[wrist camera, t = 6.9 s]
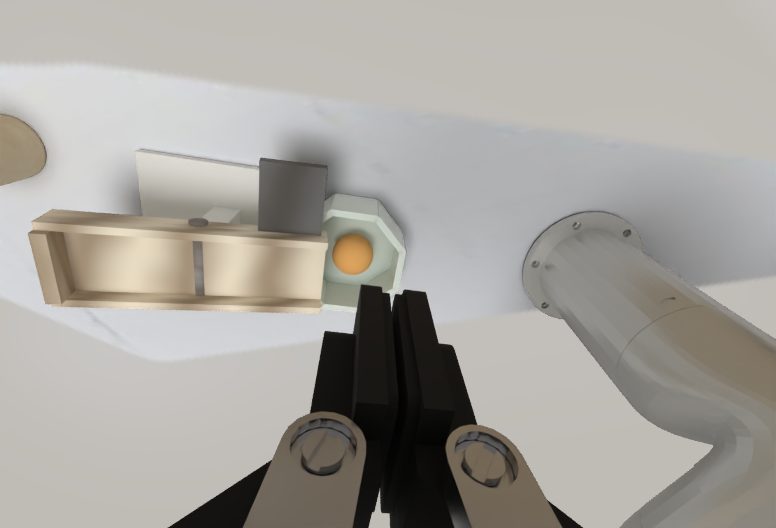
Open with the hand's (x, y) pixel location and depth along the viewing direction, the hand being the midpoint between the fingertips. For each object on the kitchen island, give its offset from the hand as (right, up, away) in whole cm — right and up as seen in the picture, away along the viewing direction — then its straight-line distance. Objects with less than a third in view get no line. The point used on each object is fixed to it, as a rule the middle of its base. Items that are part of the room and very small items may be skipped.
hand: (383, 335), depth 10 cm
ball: (-3, +3, +28) cm, 28 cm away
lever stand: (-16, +6, +29) cm, 33 cm away
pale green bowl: (-4, +4, +30) cm, 31 cm away
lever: (-15, +5, +21) cm, 26 cm away
